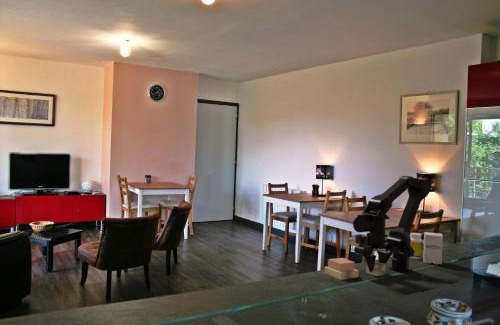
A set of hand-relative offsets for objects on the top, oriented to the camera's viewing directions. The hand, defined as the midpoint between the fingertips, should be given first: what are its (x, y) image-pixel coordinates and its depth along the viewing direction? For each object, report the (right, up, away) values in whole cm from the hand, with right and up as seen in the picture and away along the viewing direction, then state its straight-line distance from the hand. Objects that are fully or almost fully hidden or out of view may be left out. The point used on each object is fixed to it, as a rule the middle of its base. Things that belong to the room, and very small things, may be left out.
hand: (375, 271), depth 161 cm
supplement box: (+31, -2, +22) cm, 38 cm away
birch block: (-14, -1, -4) cm, 15 cm away
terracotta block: (-14, +2, -4) cm, 15 cm away
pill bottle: (+27, -2, +29) cm, 40 cm away
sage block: (0, -1, 0) cm, 1 cm away
